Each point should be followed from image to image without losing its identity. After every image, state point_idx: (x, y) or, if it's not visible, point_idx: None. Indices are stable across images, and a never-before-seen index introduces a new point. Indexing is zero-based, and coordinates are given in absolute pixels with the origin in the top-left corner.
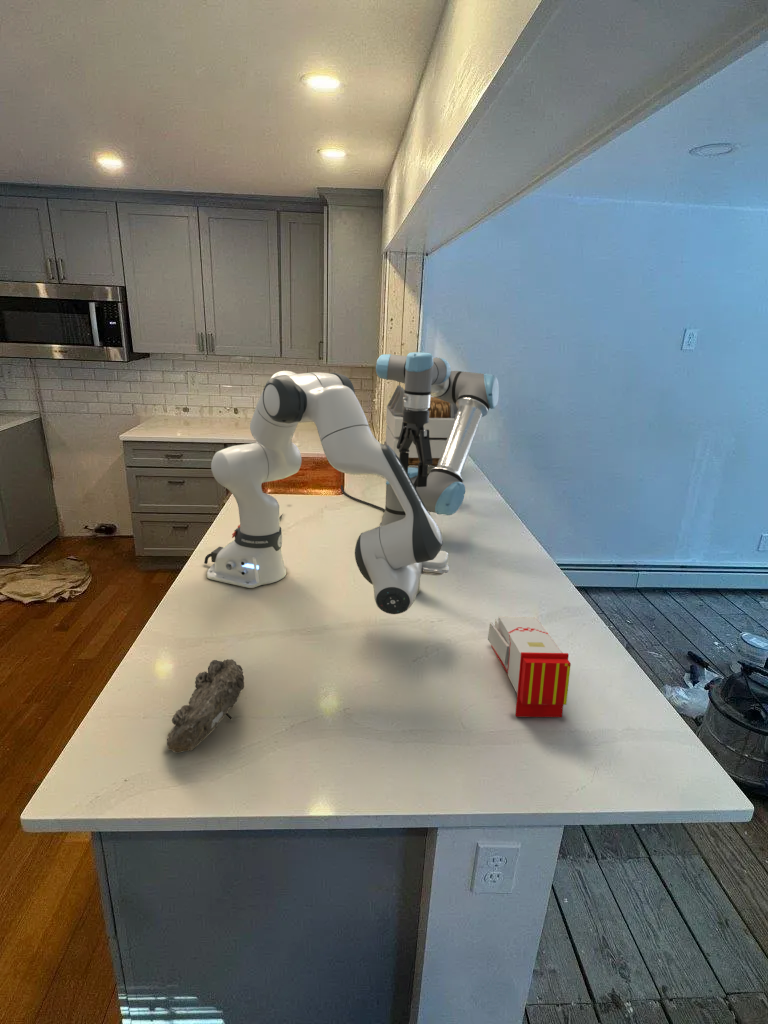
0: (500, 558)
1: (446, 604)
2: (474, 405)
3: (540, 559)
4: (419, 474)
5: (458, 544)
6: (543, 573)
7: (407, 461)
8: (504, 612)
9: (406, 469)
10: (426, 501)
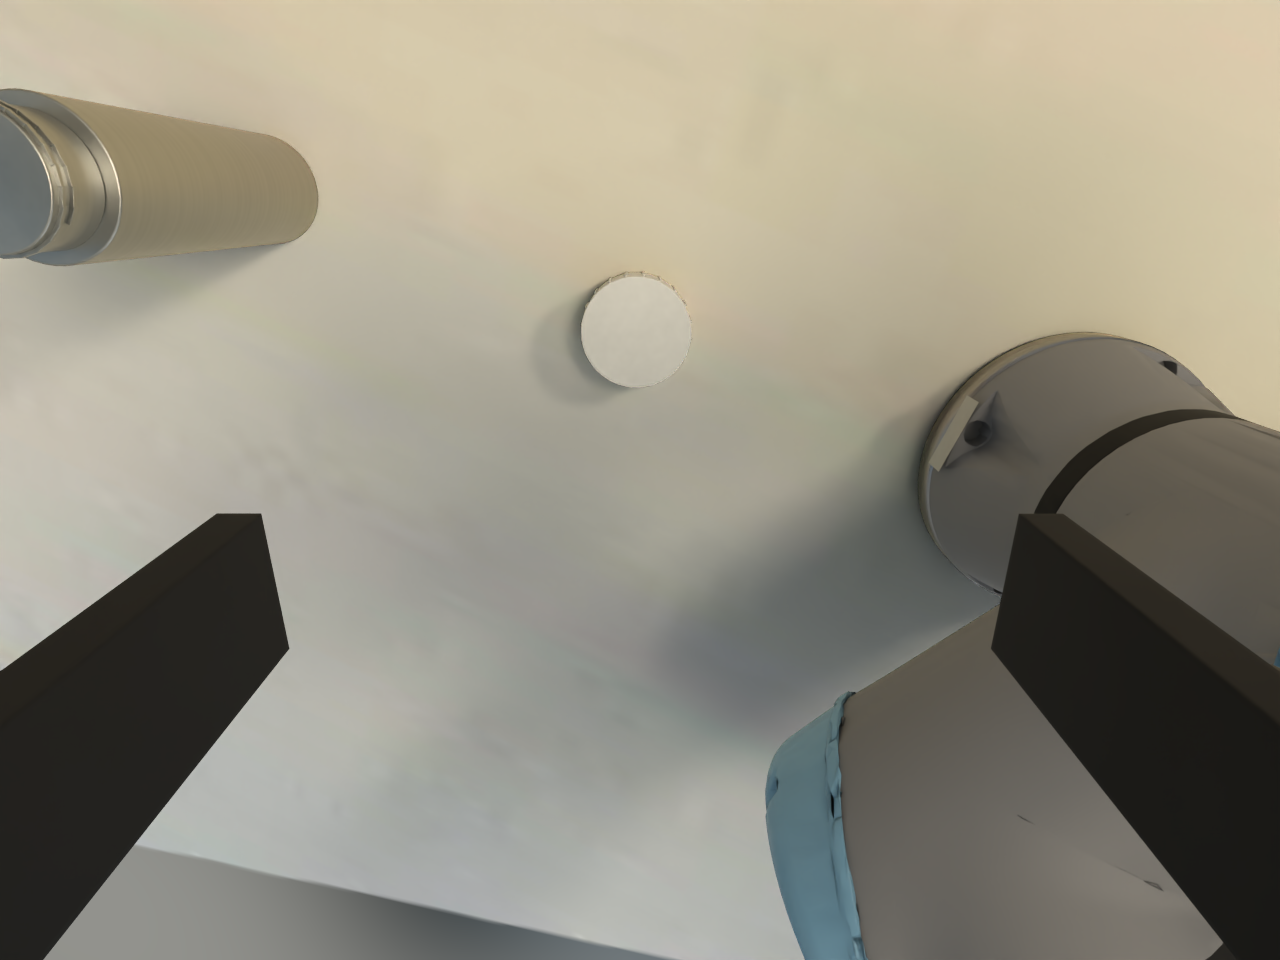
0: (550, 781)
1: (102, 320)
2: None
3: (499, 912)
4: (48, 654)
5: (764, 686)
6: (366, 857)
7: (1133, 802)
8: (18, 542)
9: (1035, 672)
10: (919, 683)
